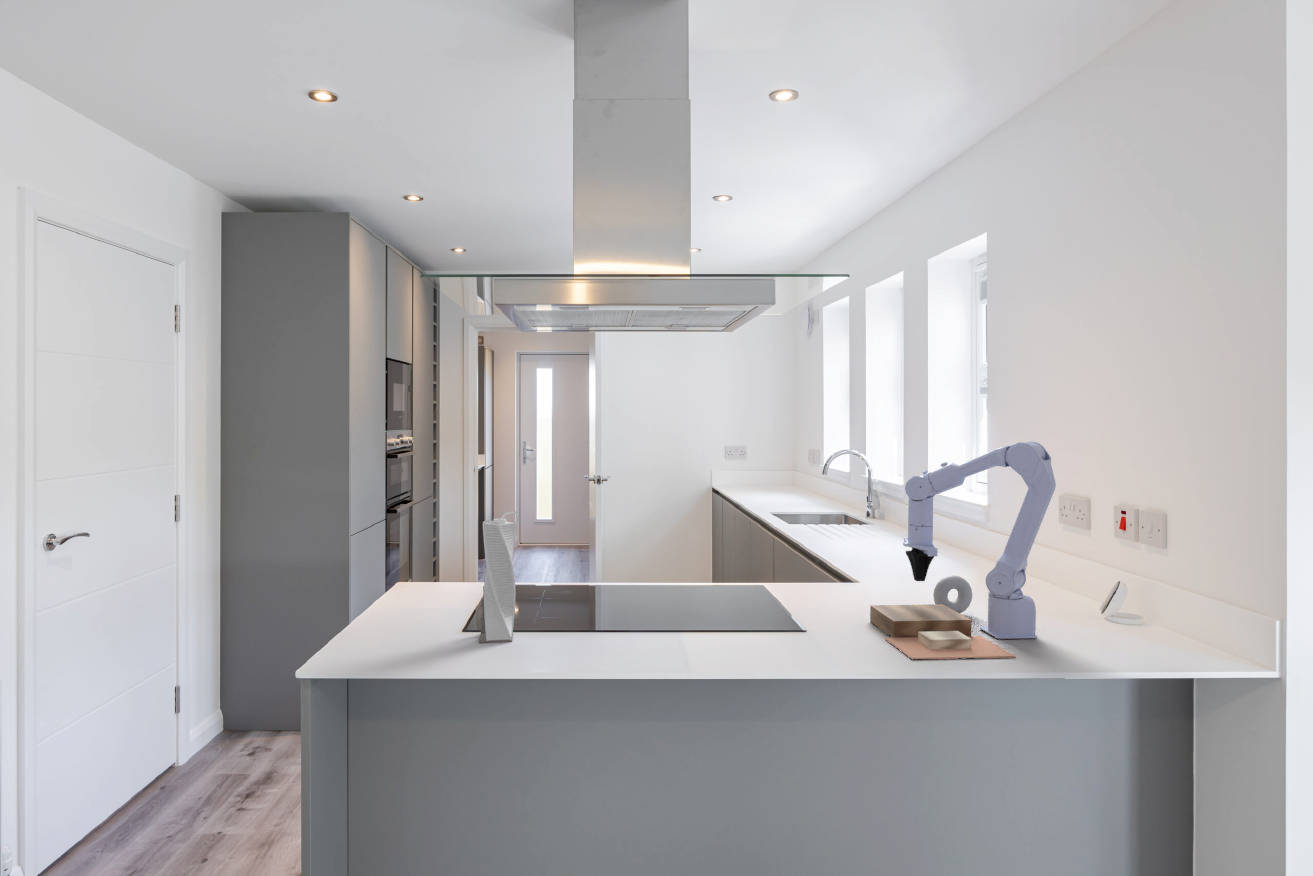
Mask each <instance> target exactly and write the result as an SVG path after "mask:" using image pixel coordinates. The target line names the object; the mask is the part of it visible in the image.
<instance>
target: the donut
mask: <svg viewBox="0 0 1313 876" xmlns="http://www.w3.org/2000/svg"><path fill="white" fill-rule="evenodd" d="M951 590H956V591H957V597H956V599H954V600H952V601H950V599H949V597H948V596H949V593H950V591H951ZM932 596H933V601H934V604H943V605H945V606H947V607H949V608H951V609H952V610H954V611H956V612H958V613H960V614H962V613H963V612H965V611H967V609H968V608H969V607H970V605H971V603H972V599H973V588H972V587H971V585H970V583H969V582H968V581H967V580H966V579H965V578H963V577H961V576H960V575H952V574H951V575H946V576H944V577H943V578H941V579H940V580H939V581H937V583H936V585H935V587H934V589H933V595H932Z"/></svg>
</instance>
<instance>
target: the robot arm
mask: <svg viewBox="0 0 1313 876" xmlns="http://www.w3.org/2000/svg"><path fill="white" fill-rule="evenodd" d="M1051 456H1052V455H1050V454H1049V452H1048V451H1047V450H1046V448H1045V446H1043V445H1042V444H1041V443H1040V442H1036V441H1026V442H1016V443H1014V444H1012V445H1006V446H1001V447H999V448H995V449H992V450H990V451H989V452H986V453H983V454H981V455H979V456H977V457H975V458H973V459H971V460H968V461H965V462H963V463H961V464H958V463H955V462H949V463H948V462H942V463H940V467H936V468H934V469H933V470H930V471H929V470H925V471H922V475H914V476H912V477H911V478H909V479H908V480H907V481H906V483H905V485H904V491H905V494H906V496H908V508H907V509H908V510H907V511H908V512H907V513H908V515H907V518H908V519H907V522H908V523H907V538H906V537H905V538H903V543H902V545H903V546H904V547H909V548H911V550H906V551H905V554H906V557H907V558H908V561H909V563H910V566H911V572H912V575H913V580H914V581H916V582H925V581H926V578H927V574H928V570H929V568H930V565H931V562H932V561H933V560H934V558H935V557H938V550H939V549H938V547H936V545H935V544H934V543H933V541H934V539H933V536H934V535H933V534H934V497H935V496H936V495H939V494H942V493H944V492H946V491H947V492H948V491H949V490H951V489H955V488H958V487H960V486H963V484H964V481H965V480H966V478H968V477H970V476H973V475H975V474H978V473H980V472H985V471H987V470H989V469H991V468H995V467H1003V468H1007V467H1010V468H1011V469H1012V470H1013V471H1014V472H1016V473H1017V474H1019V476H1021V478H1022V480H1023V481H1024V483H1025V484H1026V486H1027V488H1028V490H1027V491H1026V494H1025V497H1024V500H1023V501H1022V504H1021V507H1020V509H1019V512H1018V514H1017V517H1016V520H1015V523H1014V525H1013V527H1012V530H1011V532H1010V535H1009V538H1008V540H1007V542H1006V545H1005V547H1004V551H1003V552H1002V554H1001V555H1000V556H999V558H998V560H997V562H996V564H995V566H994V568H992V569H991V570H990V571H989V572H988V573H987V574H986V577H985V586H986V588H987V590H988V593H987V594H988V599H987V600H988V602H987V603H988V604H987V605H988V607H987V626H980V627H979V630H981V631H982V630H983V632H984V631H985V633H986V634H988V635H990V636H991V635H992V637H993V636H994V638H995V639H999V640H1006V639H1007V640H1009V639H1018V640H1019V639H1038V635H1036V630H1037V626H1036V625H1037V624H1036V623H1037V617H1036V616H1037V607H1036V604H1035V602H1034V601H1035V600H1033V598H1032V597H1031V596H1030V595H1028V594H1025V595H1024V593H1023V591H1022V588H1023V587H1024V586H1025V584H1026V581H1027V579H1026V578H1027V576H1026V575H1027V574H1026V569H1027V567H1028V557H1029V556H1030V555H1029V554H1030V553H1031V550H1032V547H1033V545H1034V542H1035V540H1036V538H1037V535H1038V533H1039V531H1040V528H1041V525H1042V523H1043V521H1044V518H1045V515H1046V512H1047V511H1048V508H1049V505H1050V502H1051V500H1052V498H1053V495H1054V493H1055V490H1056V488H1057V483H1056V480H1055V476H1054V475H1055V474H1054V472H1053V467H1052V457H1051Z"/></svg>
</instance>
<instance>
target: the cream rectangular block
mask: <svg viewBox="0 0 1313 876" xmlns="http://www.w3.org/2000/svg"><path fill="white" fill-rule="evenodd" d="M918 641H919V642H921V643H922V644H923V645H925V646H926V647H928V648H929V649H967V648H971V638H969V637H967V636H965V635H964V634H962V633H960V632H959V631H927V632H918Z"/></svg>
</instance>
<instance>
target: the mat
mask: <svg viewBox="0 0 1313 876" xmlns="http://www.w3.org/2000/svg"><path fill="white" fill-rule="evenodd" d="M967 637H969V638H971V648H967V649H929V648H928V647H926V646H925V645H923V644H922V643H921V642H919V641H918V637H904V638H891V637H884V640H885V641H886V640H887V641H886V642H888V643H889V642H890V643H891V644H892V646H893V645H894V646H895V647H896V648H895V647H894V646H893V647H894V648H895V649H897V648H898V649H899V650H901V651H902V652H903V653H905V654H906V655H907V656H909V658H908V659H910V658H911V659H912V660H911V659H910V660H911V661H914V660H913V659H939V660H959V659H958V658H986V659H1015V658H1016V655H1015V654H1012V653H1011V652H1010V651H1007V650H1006V649H1004V648H1002V647H1000V646H999V645H997V644H995V643H993V642H992V641H991V640H988V639H987V638H985V637H984V636H981V635H976V636H975V635H971V636H967ZM890 643H889V644H890ZM891 644H890V645H891ZM898 649H897V650H898ZM899 650H898V651H899ZM901 651H900V652H901ZM902 652H901V653H902ZM903 653H902V654H903ZM906 655H905V656H906ZM907 656H906V657H907ZM947 658H948V659H947Z"/></svg>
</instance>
